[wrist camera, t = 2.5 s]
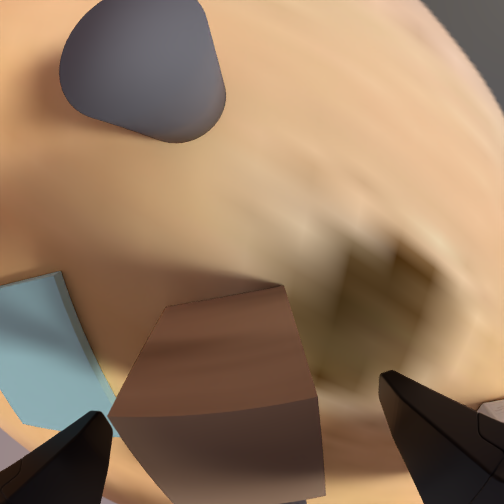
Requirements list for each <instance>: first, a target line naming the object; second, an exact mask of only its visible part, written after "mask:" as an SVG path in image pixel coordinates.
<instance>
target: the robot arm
mask: <svg viewBox="0 0 504 504" xmlns="http://www.w3.org/2000/svg"><path fill="white" fill-rule="evenodd" d="M378 394H379V399H380V402H381V405H382V408H383V411H384V414H385V417H386V419H387V422H388V425H389V428H390V431H391V434H392V437H393V439H394V441H395V444H396V446H397V448H398V450H399V452H400V454H401V456H402V458H403V460H404V462H405V464H406V466H407V468H408V470H409V472H410V475H411V477H412V479H413V481H414V483H415V485H416V487H417V490H418V492H419V494H420V496H421V498H422V500H423V503H424V504H504V423H503V422H501V421H498V420H496V419H493V418H491V417H489V416H486V415H484V414H482V413H480V412H479V413H478V412H477V411H475V410H473V409H471V408H469V407H467V406H465V405H463V404H461V403H458V402H456V401H454V400H452V399H450V398H448V397H446V396H444V395H442V394H440V393H438V392H436V391H434V390H432V389H430V388H428V387H426V386H424V385H422V384H420V383H418V382H416V381H414V380H412V379H410V378H408V377H406V376H404V375H402V374H400V373H398V372H396V371H394V370H390V371H387V372H384V373H381V374H380V377H379V392H378ZM112 437H113V429H112V426H111V425H110V423H109V422H108V420H107V419H106V417H105V415H104V414H103V413H102V412H101V411H95V410H92V411H89V412H88V413H86V414H85V415H83V416H82V417H81V418H79V419H78V420H76V421H75V422H74V423H72V424H71V425H69V426H68V427H66V428H65V429H64V430H62V431H61V432H59V433H58V434H56V435H55V436H54V437H52V438H51V439H49V440H48V441H46V442H45V443H43V444H42V445H41V446H39V447H38V448H36V449H35V450H33V451H32V452H30V453H29V454H27V455H26V456H24V457H23V459H20V460H18V461H17V462H16V463H14V464H12V465H11V466H9V467H8V468H6V469H4V470H2V471H1V472H0V504H100V503H101V498H102V494H103V489H104V485H105V480H106V476H107V471H108V466H109V459H110V451H111V444H112Z"/></svg>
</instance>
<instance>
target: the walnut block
mask: <svg viewBox="0 0 504 504" xmlns="http://www.w3.org/2000/svg"><path fill="white" fill-rule="evenodd" d="M107 417H108V419H109V420H110V422H111V423H112V425H113V426H114V428H115V429H116V431H117V432H118V434H119V435H120V437H121V438H122V440H123V441H124V443H125V444H126V445H127V447H128V448H129V450H130V451H131V452H132V454H133V455H134V456H135V458H136V459H137V460H138V462H139V463H140V464H141V466H142V467H143V468H144V470H145V471H146V472H147V473H148V475H149V476H150V477H151V478H152V480H153V481H154V482H155V483H156V484H157V486H158V487H159V488H160V489H161V490H162V491H163V493H164V494H165V495H166V496H167V497H168V498H169V499H170V500H171V501H172V503H173V504H281V503H288V502H295V501H301V500H306V499H312V498H317V497H321V496H326V491H325V475H324V461H323V449H322V437H321V426H320V416H319V406H318V396H317V393H316V390H315V386H314V383H313V379H312V376H311V373H310V369H309V366H308V363H307V359H306V356H305V353H304V349H303V346H302V343H301V339H300V336H299V333H298V330H297V326H296V323H295V320H294V317H293V313H292V310H291V307H290V304H289V300H288V297H287V294H286V291H285V288H284V286H279V287H273V288H268V289H263V290H258V291H253V292H248V293H242V294H237V295H231V296H226V297H220V298H215V299H209V300H203V301H198V302H192V303H186V304H180V305H174V306H168V307H166V308H165V309H164V311H163V313H162V315H161V316H160V318H159V320H158V322H157V323H156V325H155V327H154V329H153V331H152V332H151V334H150V336H149V338H148V340H147V341H146V343H145V345H144V347H143V349H142V351H141V352H140V354H139V356H138V358H137V360H136V362H135V363H134V365H133V367H132V369H131V371H130V373H129V375H128V377H127V378H126V380H125V382H124V384H123V386H122V388H121V390H120V392H119V394H118V396H117V398H116V400H115V401H114V403H113V405H112V407H111V409H110V411H109V413H108V415H107Z"/></svg>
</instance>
